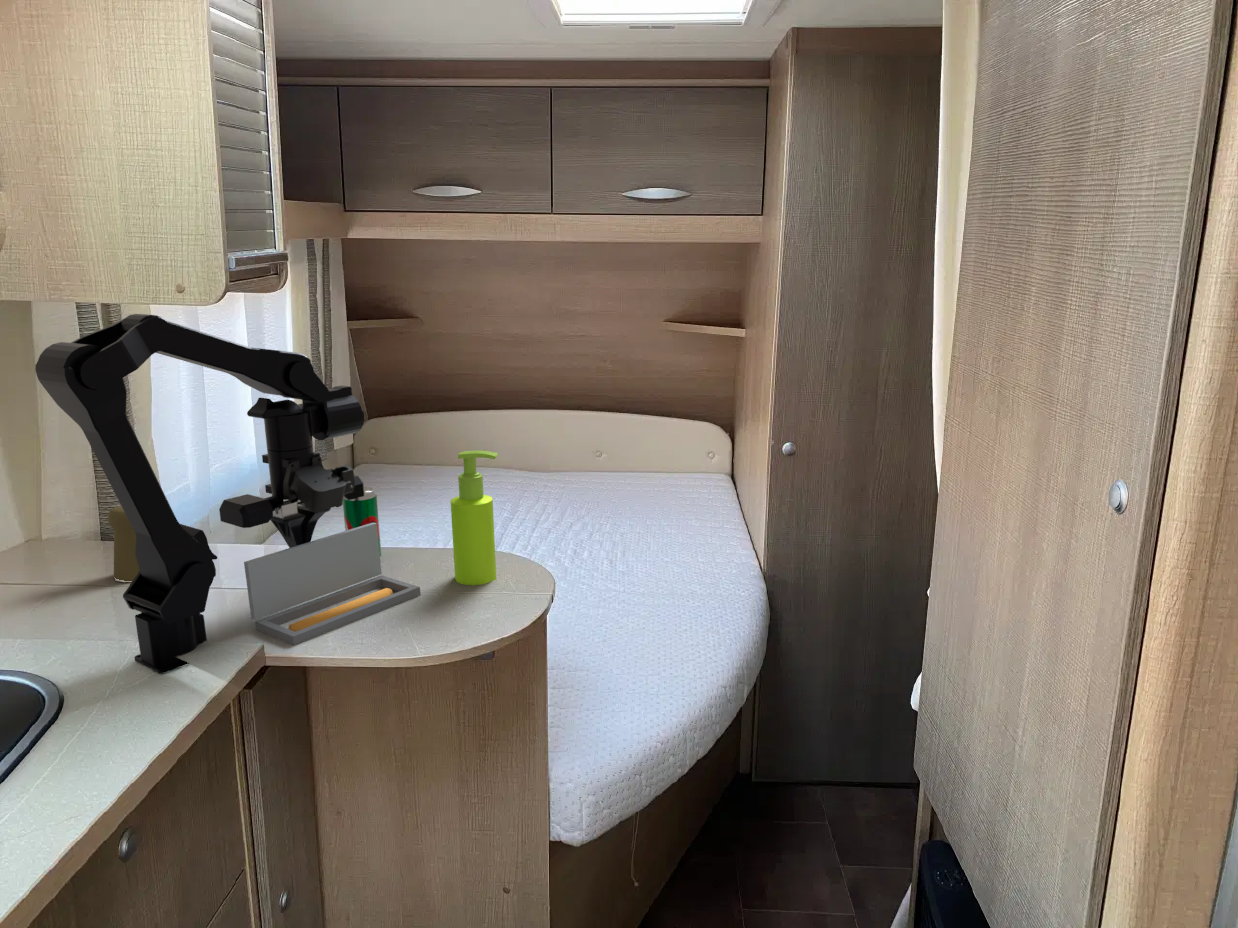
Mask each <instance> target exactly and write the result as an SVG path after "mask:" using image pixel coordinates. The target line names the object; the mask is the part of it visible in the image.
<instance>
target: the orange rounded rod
mask: <svg viewBox="0 0 1238 928" xmlns="http://www.w3.org/2000/svg"><path fill="white" fill-rule="evenodd" d="M392 594H394V592H393V590H391V589H389V588H385V587H384V588H382V589H380V590H378V591H374V592H372V593H369V594H367V595H364V596H361V597H359V598H356V599H354V600H351V601H349V602H345V603H343V604H341V605H337V606H335V607H333V608H330V609H327V610H325V611H322V612H320V613H317V614H313V615H311V616H309V617H306V618H304V619H301V620H298V621H296V622H292V623H290V624H289V625H288V629H290V630H292V631H295V632H297V631H299V630H302V629H304V628H307V627H309V626H312V625H315V624H317V623H320V622H322V621H325V620H327V619H330V618H333V617H335V616H338V615H340V614H343V613H345V612H348V611H351V610H353V609H356V608H358V607H361V606H363V605H366V604H369V603H371V602H374V601H376V600H379V599H381V598H384V597H387V596H389V595H392Z"/></svg>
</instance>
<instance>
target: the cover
mask: <svg viewBox="0 0 1238 928" xmlns="http://www.w3.org/2000/svg"><path fill="white" fill-rule="evenodd" d="M243 564H244V565H243V566H244V567H243V568H244V573H245V580H246V588H247V595H248V603H249V609H250V611H249V612H250V617H251V618H250V619H252V620H255V621H257V620H260V619H263V618H266V617H268V616H271V615H274V614H277V613H279V612H280V611H281V612H282V611H285V610H288V609H290V608H291V607H292V608H293V607H296V606H299V605H301V604H304V603H307V602H310V601H313V599H314V600H315V599H318V598H321V597H324V596H326V595H329V594H332V593H335V592H337V591H340V590H343V589H346V588H348V587H351V586H354V585H357V584H359V583H362V582H365V581H368V580H370V579H373V578H376V577H379V576H381V575H382V565H381V557H380V552H379V543H378V533H377V523H370V524H366V525H363V526H360V527H357V528H353V529H350V530H347V531H345V530H344V531H340V532H338V533H334V534H330V535H327V536H325V537H322V538H318V539H315V540H311V542H308V543H304V544H301V545H298V546H295V547H291V548H289V547H288V548H285V549H281V550H279V551H276V552H273V553H270V554H266V555H262V556H260V557H256V558H252V559H250V560H246V561H244V562H243Z"/></svg>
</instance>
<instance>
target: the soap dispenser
mask: <svg viewBox="0 0 1238 928" xmlns="http://www.w3.org/2000/svg"><path fill="white" fill-rule="evenodd" d="M498 455H499V453H498V452H494V451H491V450H490V451H489V450H480V449H479V450H478V449H477V450H466V451H465V450H464V451H460V452H459V453H458V455H457V456H458V457H457V459H458V460H459V459H462V460H463V472H462V473H461V474H459V475H458V477H457V479H458V496H455V497H453V498H451V499H450V514H451V515H450V516H451V531H452V548H453V563H454V565H453V566H454V579H455V582H456V583H457V584H460V585H465V586H480V585H485V584H489V583H492V582H493V581H497V565H496V564H497V563H496V544H495V525H494V524H495V522H494V521H495V519H494V518H495V517H494V501H493V500H494V499H493V497H492V496H490V495H488V494H484V479H483V474H482V473H479V471H477V459H478V458H480V459H481V458H482V459H483V458H484V459H491V460H495V459H496V458H497V457H498ZM476 458H477V459H476Z"/></svg>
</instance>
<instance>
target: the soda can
mask: <svg viewBox="0 0 1238 928" xmlns="http://www.w3.org/2000/svg"><path fill="white" fill-rule="evenodd" d="M364 493H365V495H364V496H362V497H359V498H355V499H352V500H346V499H345V498H344V499H343V505H342V507H343V508H342V509H343V518H344V520H343V521H344V531H347V530H350V529H353V528H357V527H360V526H363V525H366V524H370V523H377V533H378V543H379V552H380V558H381V557H382V548H381V547H382V546H381V544H382V543H381V535H380V534H381V533H380V532H381V531H380V519H379V508H378V507H379V506H378V505H379V504H378V496H377V494H376V492H375V489H374V487H371V486H364Z"/></svg>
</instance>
